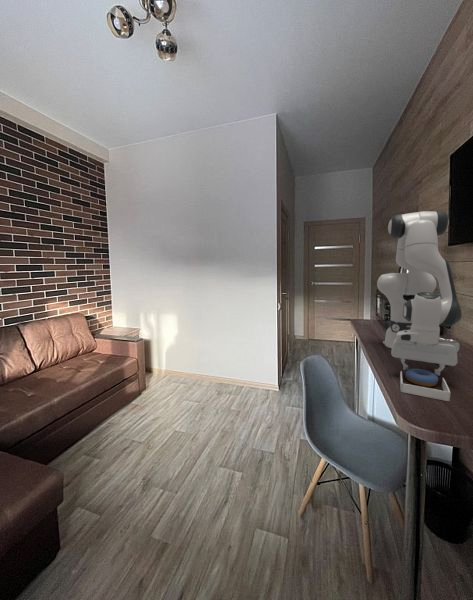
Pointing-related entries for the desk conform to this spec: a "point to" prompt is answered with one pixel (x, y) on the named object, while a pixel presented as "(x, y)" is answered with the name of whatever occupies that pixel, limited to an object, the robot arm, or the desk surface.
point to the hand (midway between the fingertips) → (420, 372)
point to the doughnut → (421, 377)
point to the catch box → (426, 390)
